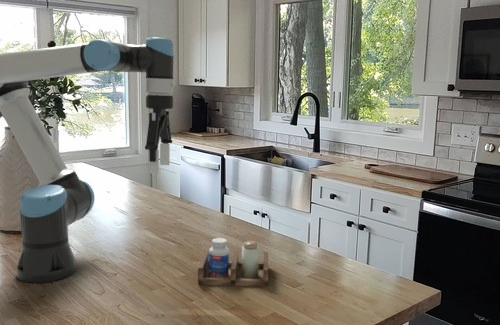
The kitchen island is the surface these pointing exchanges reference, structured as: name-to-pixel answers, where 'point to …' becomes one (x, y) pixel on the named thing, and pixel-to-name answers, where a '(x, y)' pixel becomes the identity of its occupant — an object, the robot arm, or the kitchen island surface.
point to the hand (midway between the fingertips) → (159, 168)
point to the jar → (250, 260)
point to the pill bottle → (219, 258)
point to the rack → (232, 273)
